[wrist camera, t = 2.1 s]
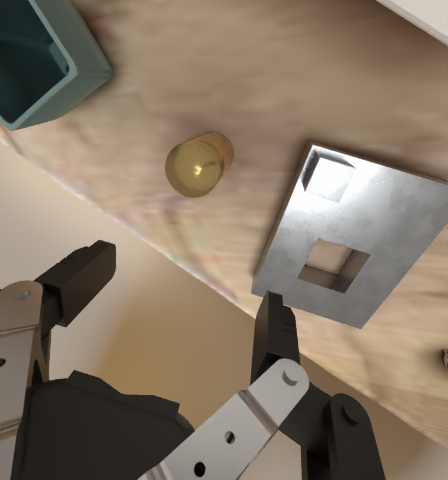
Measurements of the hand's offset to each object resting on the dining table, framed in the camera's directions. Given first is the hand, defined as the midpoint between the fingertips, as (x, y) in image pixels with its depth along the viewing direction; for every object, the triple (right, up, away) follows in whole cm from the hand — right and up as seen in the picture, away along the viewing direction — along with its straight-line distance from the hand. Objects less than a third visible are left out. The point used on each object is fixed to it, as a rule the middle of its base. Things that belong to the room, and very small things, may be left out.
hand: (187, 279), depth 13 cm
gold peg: (+1, +11, +14) cm, 18 cm away
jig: (+15, +2, +16) cm, 22 cm away
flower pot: (-12, +20, +12) cm, 27 cm away
